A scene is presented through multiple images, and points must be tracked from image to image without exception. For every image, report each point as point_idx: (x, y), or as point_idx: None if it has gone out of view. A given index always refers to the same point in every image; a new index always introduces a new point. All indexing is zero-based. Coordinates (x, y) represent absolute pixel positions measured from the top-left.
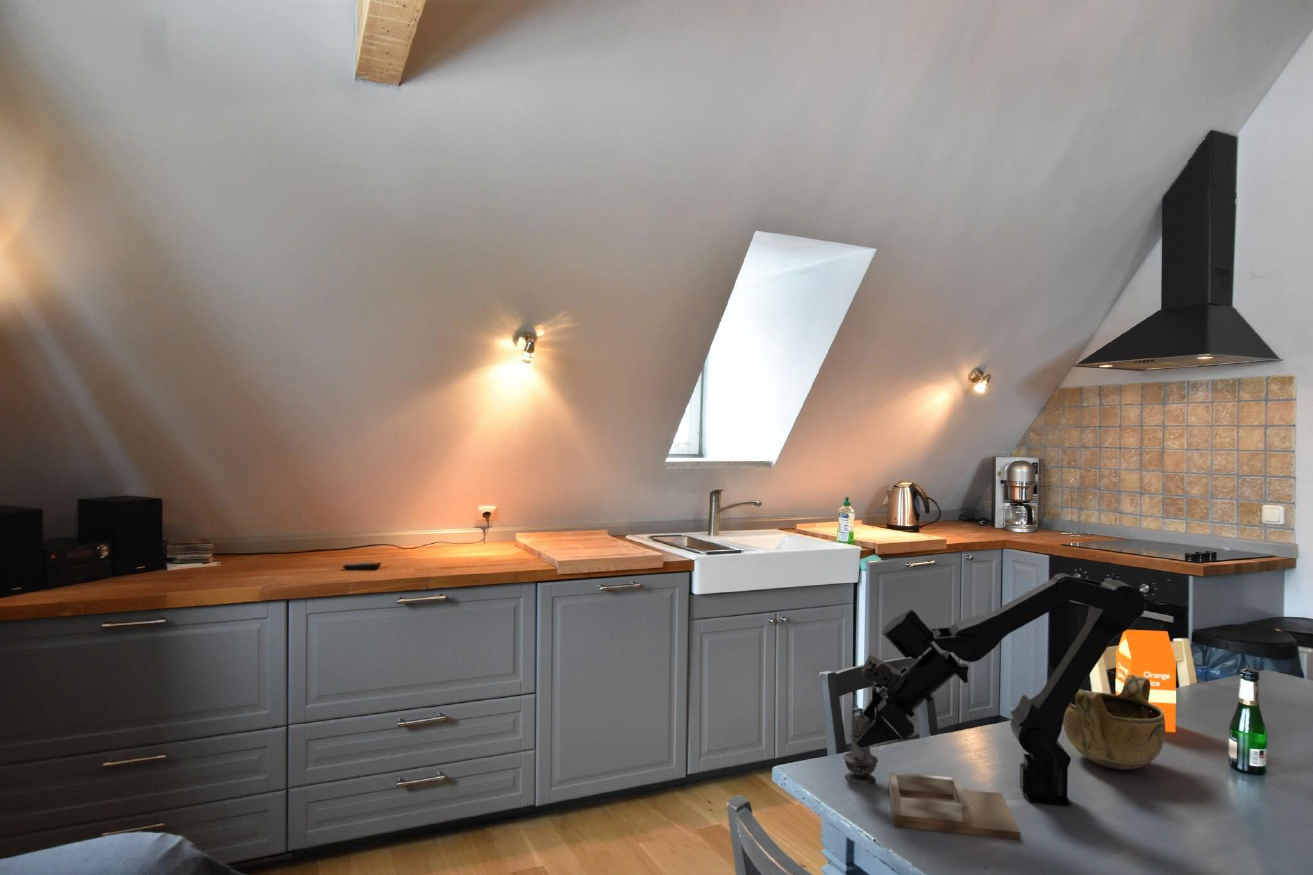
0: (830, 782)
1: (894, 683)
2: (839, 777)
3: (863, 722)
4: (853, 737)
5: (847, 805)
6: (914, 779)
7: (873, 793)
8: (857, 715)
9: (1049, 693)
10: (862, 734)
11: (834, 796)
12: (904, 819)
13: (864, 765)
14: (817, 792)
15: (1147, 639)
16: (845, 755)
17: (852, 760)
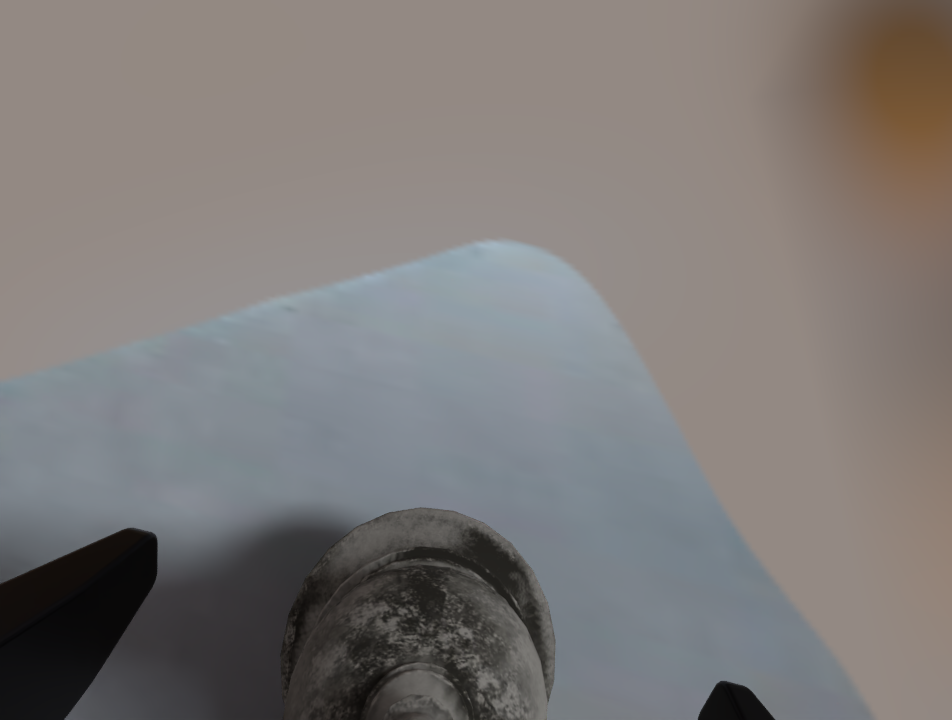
0: (376, 432)
1: None
2: (444, 502)
3: (285, 718)
4: (380, 566)
5: (63, 447)
6: None
7: (190, 660)
8: (457, 657)
9: None
10: (23, 600)
11: (191, 407)
12: None
13: (285, 641)
14: (255, 335)
15: None
16: (471, 531)
17: (358, 556)
